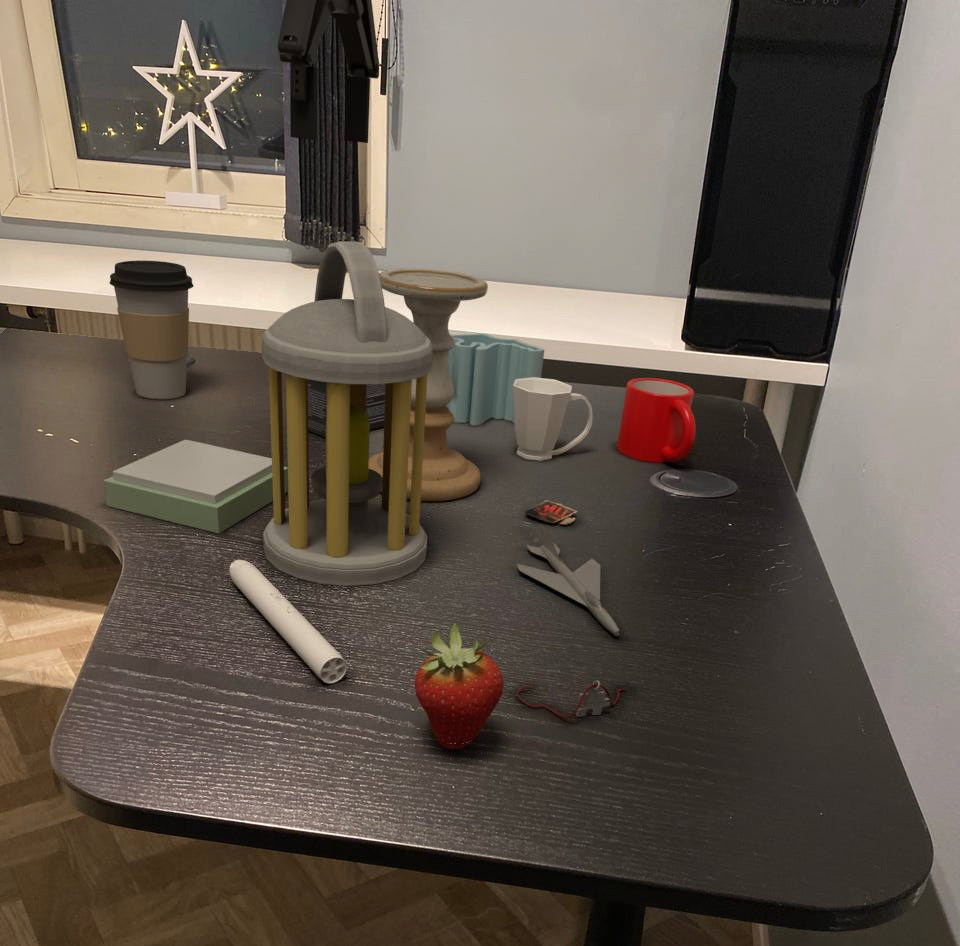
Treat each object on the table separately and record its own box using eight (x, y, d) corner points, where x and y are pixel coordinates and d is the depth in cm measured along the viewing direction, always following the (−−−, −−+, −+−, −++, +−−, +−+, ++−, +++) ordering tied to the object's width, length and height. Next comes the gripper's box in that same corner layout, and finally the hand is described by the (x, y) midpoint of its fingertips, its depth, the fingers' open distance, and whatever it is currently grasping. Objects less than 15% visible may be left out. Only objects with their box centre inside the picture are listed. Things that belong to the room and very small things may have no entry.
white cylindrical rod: (221, 577, 74) (219, 550, 72) (246, 572, 75) (245, 546, 73) (319, 687, 61) (319, 657, 60) (347, 679, 62) (347, 650, 61)
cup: (497, 444, 108) (504, 376, 104) (576, 444, 111) (585, 377, 107) (514, 464, 103) (522, 393, 99) (596, 464, 105) (607, 394, 101)
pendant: (535, 728, 59) (540, 694, 58) (513, 691, 63) (517, 658, 61) (645, 716, 61) (653, 683, 60) (618, 681, 65) (625, 649, 64)
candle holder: (394, 452, 103) (402, 261, 93) (496, 474, 99) (515, 279, 89) (341, 486, 93) (343, 276, 82) (453, 512, 89) (469, 296, 79)
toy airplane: (572, 645, 69) (576, 619, 68) (485, 532, 86) (487, 509, 85) (662, 636, 71) (667, 611, 70) (560, 528, 88) (563, 505, 87)
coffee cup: (125, 381, 117) (112, 257, 110) (202, 383, 120) (193, 261, 112) (118, 403, 110) (102, 270, 102) (200, 404, 112) (190, 275, 104)
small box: (361, 411, 115) (362, 325, 110) (396, 425, 112) (400, 337, 106) (294, 425, 108) (292, 334, 103) (330, 440, 104) (330, 347, 99)
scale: (102, 505, 84) (98, 471, 82) (183, 466, 94) (180, 435, 92) (219, 534, 80) (216, 499, 79) (289, 491, 90) (288, 459, 89)
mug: (658, 476, 103) (672, 408, 99) (604, 442, 113) (615, 378, 109) (714, 472, 106) (730, 405, 102) (657, 439, 116) (669, 376, 112)
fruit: (413, 717, 59) (419, 609, 55) (495, 722, 59) (507, 615, 55) (409, 766, 55) (415, 653, 51) (498, 771, 55) (511, 659, 51)
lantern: (453, 573, 78) (477, 259, 65) (290, 596, 72) (282, 256, 59) (391, 509, 88) (402, 230, 76) (245, 525, 82) (230, 224, 70)
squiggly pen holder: (503, 403, 124) (509, 332, 119) (538, 425, 116) (547, 350, 112) (378, 409, 116) (380, 334, 112) (407, 434, 109) (411, 354, 104)
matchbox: (521, 516, 89) (522, 512, 89) (541, 501, 93) (541, 496, 93) (566, 528, 88) (566, 524, 88) (583, 512, 92) (584, 507, 92)
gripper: (314, -134, 80) (312, 141, 90) (414, -71, 101) (403, 146, 111) (237, -138, 81) (244, 133, 92) (351, -75, 102) (346, 139, 113)
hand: (331, 140), depth 101 cm, fingers open, 13 cm apart
